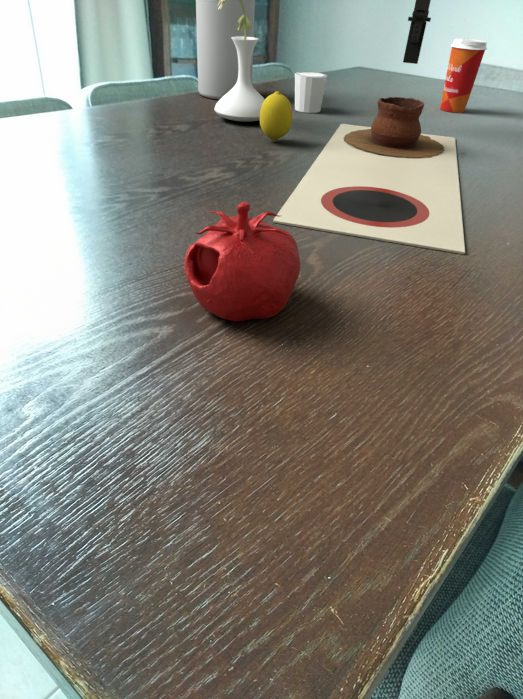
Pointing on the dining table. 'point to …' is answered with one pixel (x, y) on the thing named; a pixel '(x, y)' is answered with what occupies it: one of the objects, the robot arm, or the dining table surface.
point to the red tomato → (243, 267)
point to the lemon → (275, 116)
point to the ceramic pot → (396, 131)
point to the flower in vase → (241, 80)
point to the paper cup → (461, 73)
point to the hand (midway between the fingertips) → (410, 62)
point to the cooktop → (388, 173)
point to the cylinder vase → (220, 44)
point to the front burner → (375, 206)
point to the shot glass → (309, 91)
